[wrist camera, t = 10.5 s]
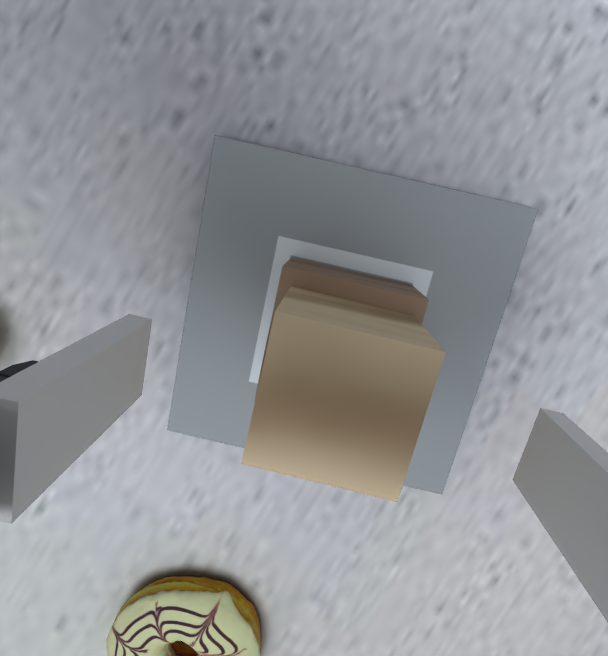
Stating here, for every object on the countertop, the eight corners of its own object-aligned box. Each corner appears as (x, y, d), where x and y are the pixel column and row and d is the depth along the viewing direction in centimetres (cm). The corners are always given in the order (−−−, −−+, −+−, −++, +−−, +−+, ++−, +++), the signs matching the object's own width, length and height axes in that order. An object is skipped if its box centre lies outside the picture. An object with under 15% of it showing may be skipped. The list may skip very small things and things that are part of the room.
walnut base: (291, 257, 26) (282, 265, 21) (411, 284, 26) (429, 299, 21) (267, 370, 28) (253, 402, 23) (380, 396, 28) (389, 433, 23)
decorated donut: (283, 663, 35) (277, 716, 31) (155, 688, 36) (135, 741, 33) (238, 550, 33) (226, 592, 29) (103, 581, 34) (76, 625, 30)
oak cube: (291, 286, 21) (275, 311, 16) (415, 316, 21) (445, 352, 16) (264, 401, 23) (241, 463, 17) (381, 429, 23) (397, 502, 17)
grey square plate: (220, 138, 26) (214, 135, 25) (529, 209, 26) (538, 208, 25) (173, 421, 30) (167, 430, 29) (437, 483, 30) (442, 494, 29)
